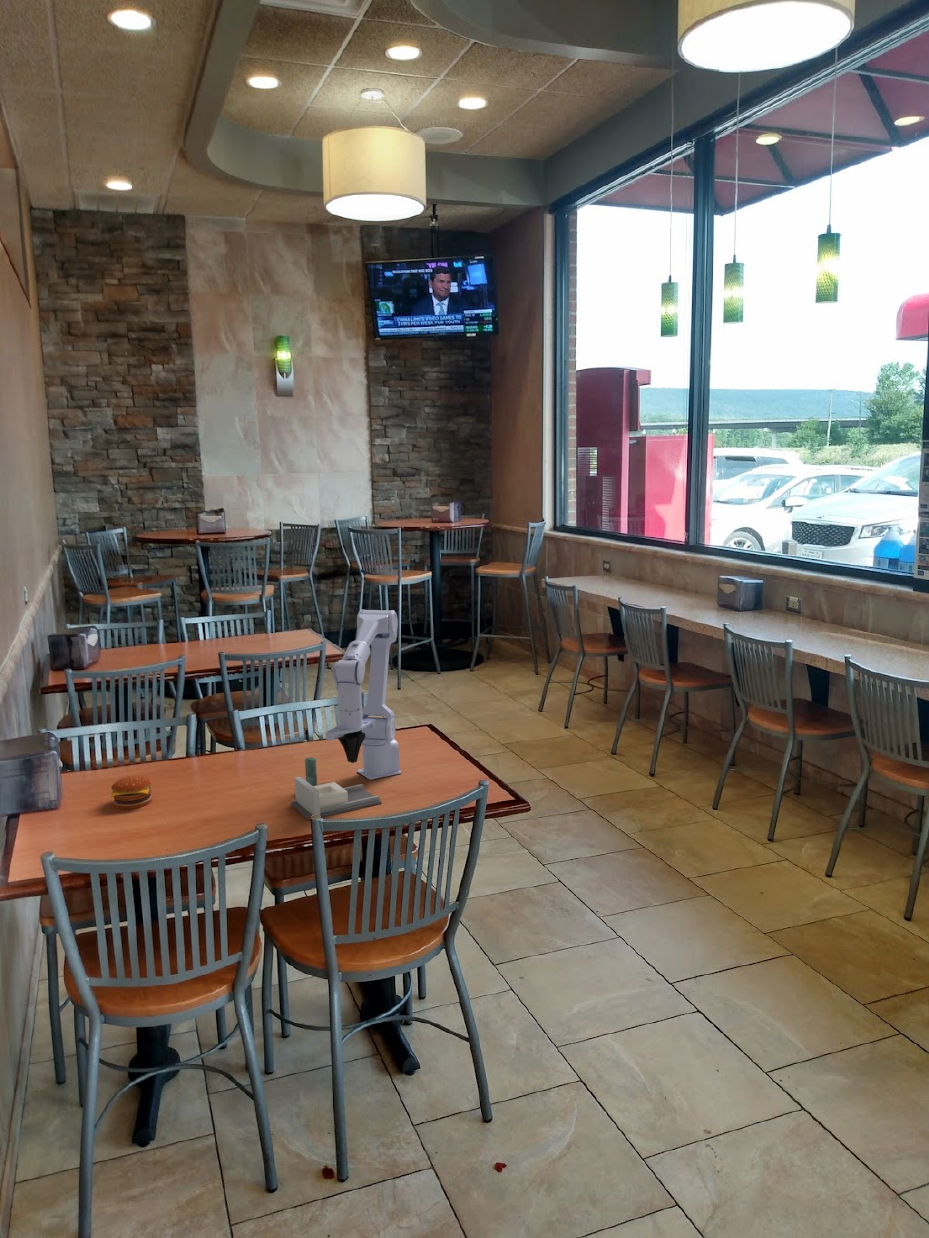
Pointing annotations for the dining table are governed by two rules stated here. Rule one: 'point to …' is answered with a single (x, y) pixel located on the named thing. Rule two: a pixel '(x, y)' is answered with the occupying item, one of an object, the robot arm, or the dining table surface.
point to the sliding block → (331, 794)
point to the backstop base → (310, 806)
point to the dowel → (311, 771)
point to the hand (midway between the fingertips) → (352, 761)
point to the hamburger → (131, 792)
